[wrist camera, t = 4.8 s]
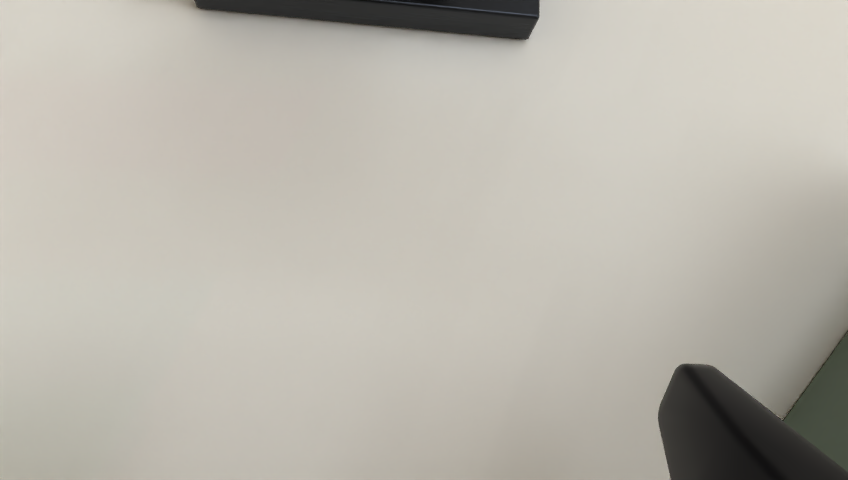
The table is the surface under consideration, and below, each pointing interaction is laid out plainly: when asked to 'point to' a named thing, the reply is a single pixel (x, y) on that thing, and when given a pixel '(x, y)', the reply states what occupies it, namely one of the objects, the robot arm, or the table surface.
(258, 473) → the table surface
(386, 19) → the black stand
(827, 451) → the control block
